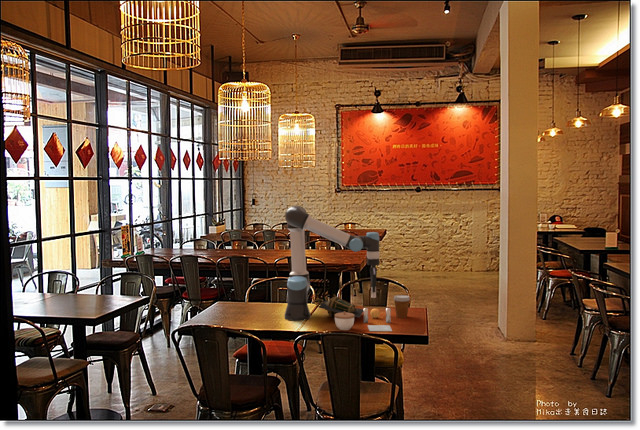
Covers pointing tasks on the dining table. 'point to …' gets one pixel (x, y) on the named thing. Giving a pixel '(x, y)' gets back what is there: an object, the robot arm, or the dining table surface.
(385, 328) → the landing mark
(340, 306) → the lantern
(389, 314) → the post right
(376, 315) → the ball
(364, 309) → the post left
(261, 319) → the dining table surface
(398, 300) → the disposable coffee cup
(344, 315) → the lidded jar
